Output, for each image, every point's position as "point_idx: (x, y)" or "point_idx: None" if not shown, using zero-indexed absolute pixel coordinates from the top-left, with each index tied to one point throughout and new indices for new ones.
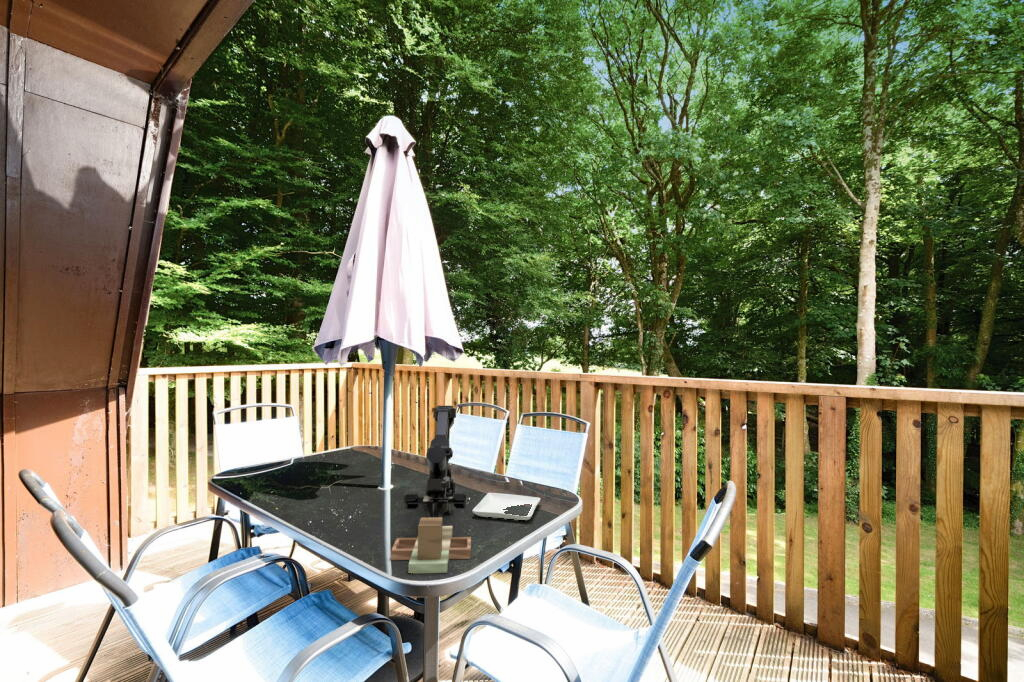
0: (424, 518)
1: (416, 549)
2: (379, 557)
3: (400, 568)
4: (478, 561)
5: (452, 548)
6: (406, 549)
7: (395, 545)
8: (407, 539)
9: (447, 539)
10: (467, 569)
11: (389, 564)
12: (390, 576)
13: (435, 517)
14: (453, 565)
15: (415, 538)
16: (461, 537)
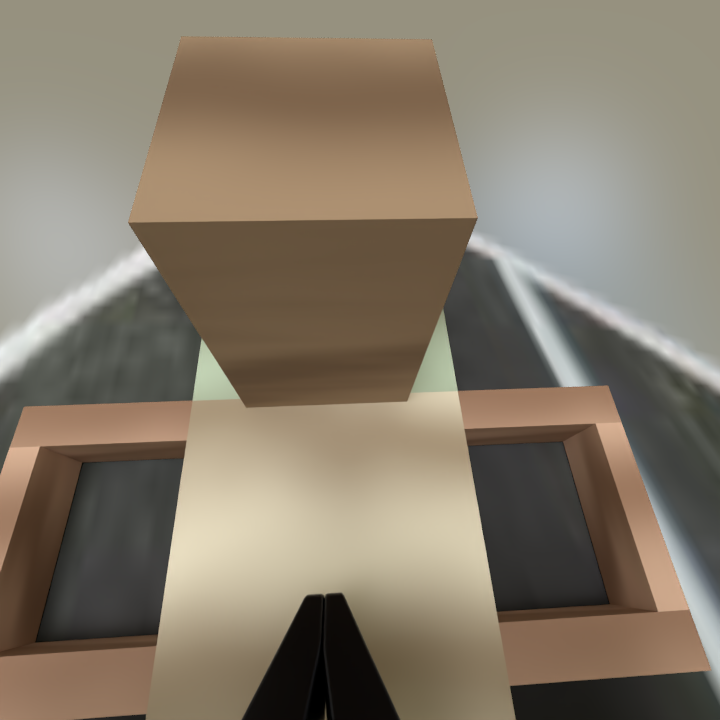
0: (413, 189)
1: (437, 411)
2: (665, 446)
3: (478, 317)
4: (23, 392)
5: (162, 429)
6: (511, 411)
7: (627, 482)
8: (587, 627)
9: (189, 636)
10: (116, 304)
11: (557, 358)
12: (496, 250)
13: (245, 219)
14: (189, 345)
15: (519, 659)
16: (27, 705)
